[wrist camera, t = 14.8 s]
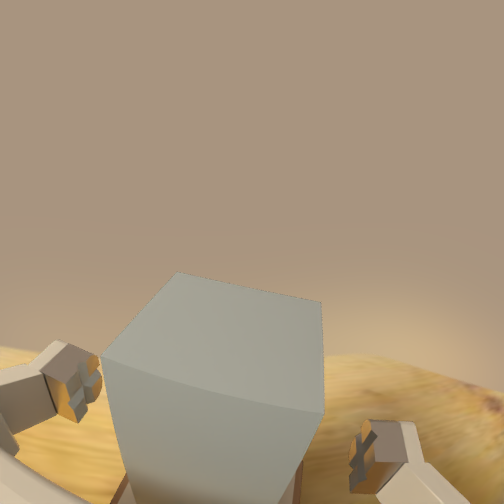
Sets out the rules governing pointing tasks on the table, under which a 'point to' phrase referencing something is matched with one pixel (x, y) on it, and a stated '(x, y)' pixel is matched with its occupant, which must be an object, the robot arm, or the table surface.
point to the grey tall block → (215, 392)
